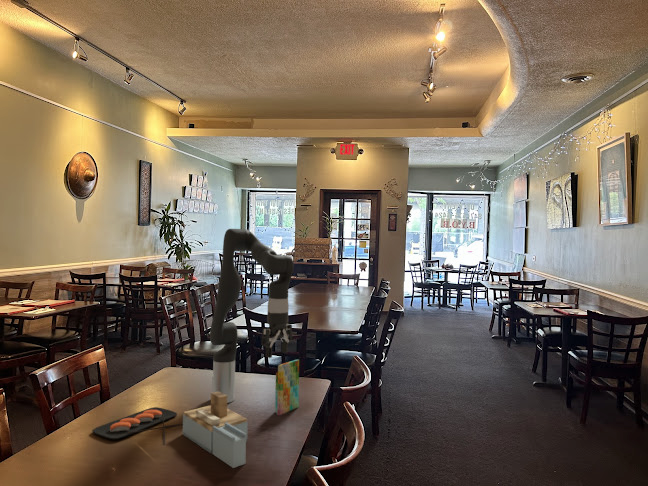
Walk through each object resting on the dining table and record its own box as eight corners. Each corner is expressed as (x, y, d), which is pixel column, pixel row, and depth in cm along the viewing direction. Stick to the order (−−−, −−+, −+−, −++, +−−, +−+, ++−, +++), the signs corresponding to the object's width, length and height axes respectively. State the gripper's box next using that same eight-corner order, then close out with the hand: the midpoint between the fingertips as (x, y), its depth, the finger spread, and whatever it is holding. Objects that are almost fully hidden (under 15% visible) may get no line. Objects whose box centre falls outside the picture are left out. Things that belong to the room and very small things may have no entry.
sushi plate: (154, 410, 191) (155, 401, 191) (209, 426, 176) (209, 416, 176) (88, 435, 166) (88, 424, 166) (145, 456, 151) (145, 444, 151)
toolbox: (182, 434, 167) (182, 408, 167) (217, 424, 177) (218, 400, 177) (232, 468, 143) (232, 438, 143) (269, 454, 152) (270, 426, 152)
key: (195, 416, 163) (196, 410, 163) (202, 414, 164) (202, 408, 164) (213, 426, 154) (213, 420, 154) (219, 424, 156) (220, 418, 156)
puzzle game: (281, 416, 186) (282, 365, 186) (272, 413, 189) (273, 363, 189) (299, 407, 196) (300, 360, 196) (291, 405, 199) (292, 358, 199)
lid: (183, 414, 167) (184, 392, 167) (217, 406, 176) (218, 384, 176) (211, 431, 153) (212, 407, 153) (246, 421, 162) (247, 398, 162)
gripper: (282, 307, 177) (281, 349, 177) (256, 311, 166) (255, 357, 166) (298, 309, 173) (297, 353, 173) (272, 314, 161) (271, 361, 161)
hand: (276, 355), depth 169 cm, fingers open, 8 cm apart
